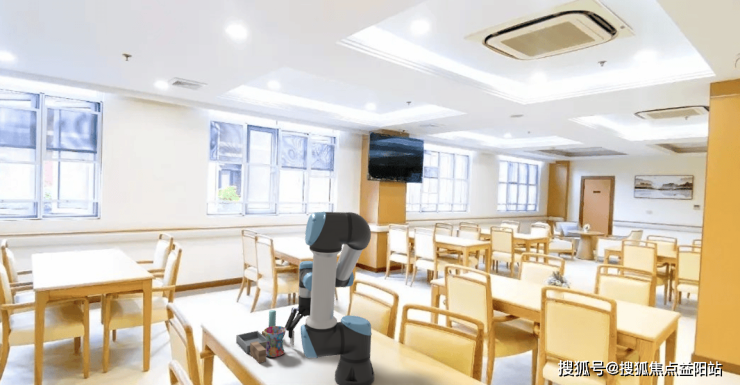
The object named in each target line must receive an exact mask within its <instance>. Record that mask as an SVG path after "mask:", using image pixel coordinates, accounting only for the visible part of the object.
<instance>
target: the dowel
mask: <svg viewBox="0 0 740 385" xmlns="http://www.w3.org/2000/svg"><path fill="white" fill-rule="evenodd" d="M276 319H277V310H275V309H274V310H269V311H268V327H271V326H277V325H276V323H277V320H276Z"/></svg>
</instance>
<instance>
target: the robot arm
mask: <svg viewBox="0 0 740 385" xmlns="http://www.w3.org/2000/svg"><path fill="white" fill-rule="evenodd" d="M304 234H305V237H304V238H305V239H304V241H305V245H306V246H309V251H311V253H312V254H313V255H312V261H311V260H303V261H301V262H300V263H299V268H298V296H297V297H298V301H297V302H298V303H297V304H298V306H297V307H291V312H290V314H289V317H288V319H287V320H286V324H285V326H284V328H286V332H288V333H287V334H288V338H289V344H290V345H291V346H292V347H294V346H295V328H296V327H297V325H298V324H299V323H300V321H301V319H302V318H304V317H306V319H305V324H302V325H301V326H300V339H301V345H302V350H303V354H304V356H305V357H306V358H308V359H314V358H315V359H318V358H324V357H325V358H326V357H332V356H333V357H334V356H339V360H338V364H337V367H336V369H335V372H334V381H335V383H336V385H372V384H373V383H374V381H375V371H374V367H373V364H372V359H371V351H372V350H371V349H372V348H371V347H372V334H373V333H372V324H371V322H370V320H368V319H366V318H364V317H361V316H358V315H345V316H341V319H340V321H338V319H337V318H336V317H335V316H334V313H335V298H336V297H335V295H336V288H348V287H352V286H353V285H354V280H355V279H354V278H355V277H354V276H355V275H354V269H355V267H356V265H357V262H358V261H359V259H360V256H361V254H362V252H363V250H365V249H367V247H368V246H369V244H370V242H371V239H372V238H371V237H372V232H371V227H370V225H369V223H368V221H367V220H366V218H364V217H363V216H361V215H360V214H359V213H356V212H351V211H348V212H347V211H345V212H344V211H341V212H340V211H320V212H319V211H318V212H312V213H311V214H310V215H309V217H308V219H307V222H306V228H305V232H304ZM338 255H339V257H338Z"/></svg>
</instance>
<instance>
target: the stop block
mask: <svg viewBox="0 0 740 385" xmlns="http://www.w3.org/2000/svg"><path fill="white" fill-rule="evenodd" d="M249 355H250V356H251V357H252V358H253V359H254V360H255V361H256V362H257V363H258V364H261V363H265V362H266V361H267V360H266V359H267V356H266V349H265V348H264V347H263V346H262V345H261V344H260V343H258V342H257V341H256V342H252V343H250V353H249Z"/></svg>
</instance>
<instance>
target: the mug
mask: <svg viewBox="0 0 740 385" xmlns="http://www.w3.org/2000/svg"><path fill="white" fill-rule="evenodd" d="M263 331H264V333H265V335H266V340H267V346H266V357H269V358H276V357H280V356H282V355H284V354H285V348H284V343H283V341H284V338H285V335H286V332H287V330H286V328H285V326H282V325H276V326H271V327H269V326H267V327H266V328H264V329H263Z"/></svg>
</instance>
